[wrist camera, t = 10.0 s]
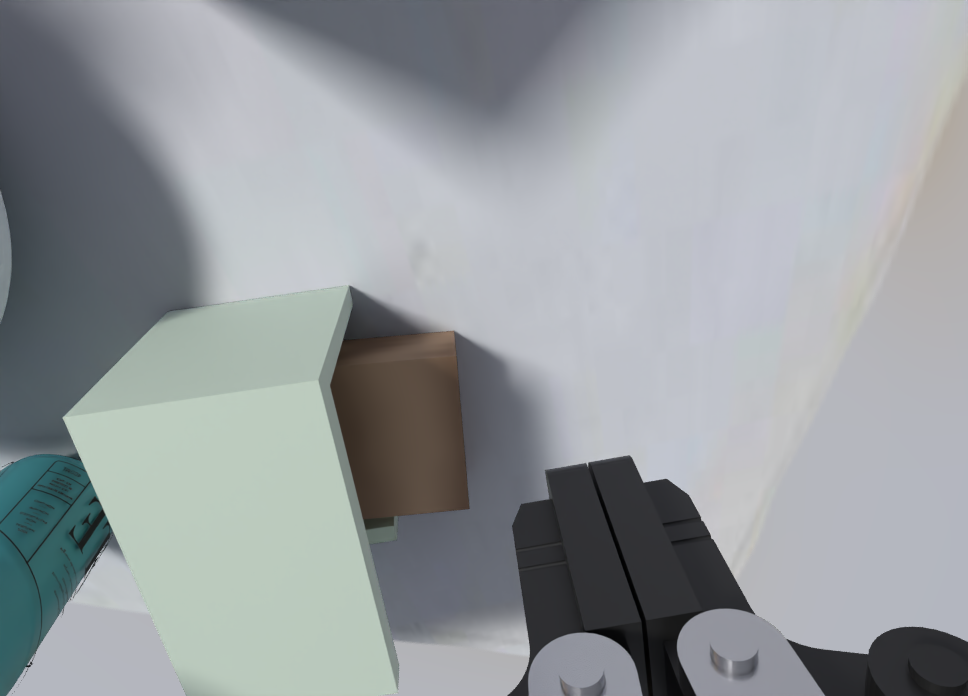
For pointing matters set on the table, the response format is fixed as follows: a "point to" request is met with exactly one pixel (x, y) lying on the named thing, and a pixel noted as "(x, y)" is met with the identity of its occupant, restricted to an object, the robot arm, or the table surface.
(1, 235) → the serving bowl
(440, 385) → the brown block
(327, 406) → the shelf
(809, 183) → the table surface
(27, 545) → the beverage bottle
